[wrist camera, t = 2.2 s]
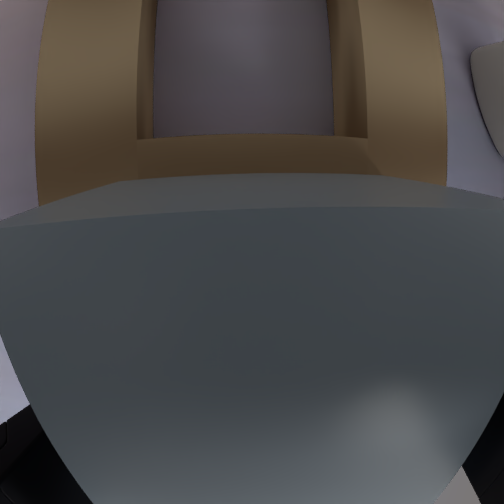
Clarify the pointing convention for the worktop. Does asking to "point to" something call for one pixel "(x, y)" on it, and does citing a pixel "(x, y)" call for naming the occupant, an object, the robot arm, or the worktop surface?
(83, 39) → the socket board
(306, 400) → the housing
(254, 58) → the worktop surface
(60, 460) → the robot arm
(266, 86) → the worktop surface
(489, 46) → the eye dropper bottle
